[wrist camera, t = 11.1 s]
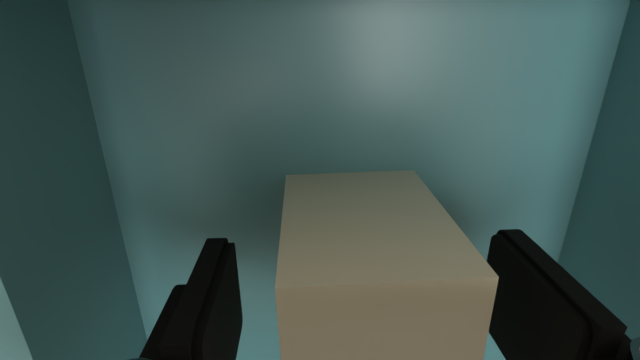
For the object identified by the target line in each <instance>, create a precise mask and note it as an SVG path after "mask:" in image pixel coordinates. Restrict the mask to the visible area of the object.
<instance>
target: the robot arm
mask: <svg viewBox="0 0 640 360" xmlns="http://www.w3.org/2000/svg"><path fill="white" fill-rule="evenodd" d="M487 263H488V264H489V265H490V267H491V268H492V269H493V270H494V272H495V273H496V274H497V275H498V277H499V279H498V285H497V290H496V295H495V300H494V305H493V311H492V316H491V321H490V326H489V333H490V335H491V337H492V338H493V340H494V341H495V343H496V345H497V346H498V348H499V350H500V351H501V353H502V354H503V356H504V358H505V359H506V360H640V337H638V338H635V339H633V340H631V339H630V338H629V337H628V336H627V335H626V334H625V332H626V330H627V326H626V325H625V324H624V323H623V322H622V321H621V320H620V319H618V318H617V317H616V316H615V315H614V314H613V313H612V312H611V311H610V310H609V309H608V308H606V307H605V306H604V305H603V304H602V303H601V302H600V301H599V300H598V299H597V298H595V297H594V296H593V295H592V294H591V293H590V292H589V291H588V290H587V289H586V288H585V287H583V286H582V285H581V284H580V283H579V282H578V281H577V280H576V279H575V278H574V277H573V276H571V275H570V274H569V273H568V272H567V271H566V270H565V269H564V268H563V267H562V266H560V265H559V264H558V263H557V262H556V261H555V260H554V259H553V258H552V257H551V256H550V255H548V254H547V253H546V252H545V251H544V250H543V249H542V248H541V247H540V246H539V245H537V244H536V243H535V242H534V241H533V240H532V239H531V238H530V237H529V236H528V235H527V234H525V233H524V232H523V231H522V230H520V229H504V230H499V231H498V232H497V233H496V235H493V236H492V237H491V241H490V246H489V251H488V256H487ZM242 323H243V315H242V305H241V296H240V286H239V277H238V268H237V258H236V249H235V243H234V242H232V243H229V242H228V239H227V238H207V239H206V241H205V244H204V246H203V248H202V250H201V252H200V255H199V257H198V259H197V261H196V264H195V266H194V268H193V270H192V273H191V275H190V277H189V279H188V282H187V284H182V285H176V286H174V288H173V289H172V291H171V293H170V295H169V297H168V299H167V301H166V303H165V305H164V307H163V309H162V311H161V314H160V316H159V318H158V320H157V322H156V324H155V326H154V328H153V330H152V332H151V334H150V336H149V338H148V340H147V342H146V344H145V346H144V348H143V350H142V352H141V354H140V356H139V358H132V359H128V360H236V356H237V351H238V346H239V341H240V336H241V331H242Z"/></svg>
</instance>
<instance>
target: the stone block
mask: <svg viewBox="0 0 640 360" xmlns="http://www.w3.org/2000/svg"><path fill="white" fill-rule="evenodd" d="M498 279H499V277H498V275H497V274H496V273H495V272H494V270H493V269H492V268H491V267H490V265H489V264H488V263H487V262H486V260H485V259H484V258H483V256H482V255H481V254H480V253H479V251H478V250H477V249H476V248H475V246H474V245H473V244H472V243H471V241H470V240H469V239H468V238H467V236H466V235H465V234H464V233H463V231H462V230H461V229H460V228H459V226H458V225H457V224H456V223H455V221H454V220H453V219H452V218H451V216H450V215H449V214H448V213H447V211H446V210H445V209H444V208H443V206H442V205H441V204H440V203H439V201H438V200H437V199H436V197H435V196H434V195H433V194H432V192H431V191H430V190H429V189H428V187H427V186H426V185H425V184H424V182H423V181H422V180H421V179H420V177H419V176H418V175H417V174H416V172H415V171H414V170H401V171H376V172H350V173H324V174H298V175H286V181H285V191H284V201H283V211H282V221H281V231H280V241H279V251H278V261H277V271H276V281H275V296H276V308H277V320H278V332H279V344H280V356H281V360H483V358H484V353H485V347H486V342H487V337H488V332H489V326H490V321H491V316H492V311H493V305H494V300H495V295H496V290H497V285H498Z"/></svg>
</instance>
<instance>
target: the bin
mask: <svg viewBox="0 0 640 360" xmlns="http://www.w3.org/2000/svg"><path fill="white" fill-rule="evenodd" d="M401 170H414V171H415V172H416V174H417V175H418V176H419V177H420V179H421V180H422V181H423V182H424V184H425V185H426V186H427V187H428V189H429V190H430V191H431V192H432V194H433V195H434V196H435V197H436V199H437V200H438V201H439V203H440V204H441V205H442V206H443V208H444V209H445V210H446V211H447V213H448V214H449V215H450V216H451V218H452V219H453V220H454V221H455V223H456V224H457V225H458V226H459V228H460V229H461V230H462V231H463V233H464V234H465V235H466V236H467V238H468V239H469V240H470V241H471V243H472V244H473V245H474V246H475V248H476V249H477V250H478V251H479V253H480V254H481V255H482V256H483V258H484V259H485V260H486V262H487V256H488V251H489V246H490V241H491V237H492V236H493V235H496V233H497V232H498V231H499V230H504V229H520V230H522V231H523V232H524V233H525V234H527V235H528V236H529V237H530V238H531V239H532V240H533V241H534V242H535V243H536V244H537V245H539V246H540V247H541V248H542V249H543V250H544V251H545V252H546V253H547V254H548V255H550V256H551V257H552V258H553V259H554V260H555V261H556V262H557V263H558V264H559V265H560V266H562V267H563V268H564V269H565V270H566V271H567V272H568V273H569V274H570V275H571V276H573V277H574V278H575V279H576V280H577V281H578V282H579V283H580V284H581V285H582V286H583V287H585V288H586V289H587V290H588V291H589V292H590V293H591V294H592V295H593V296H594V297H595V298H597V299H598V300H599V301H600V302H601V303H602V304H603V305H604V306H605V307H606V308H608V309H609V310H610V311H611V312H612V313H613V314H614V315H615V316H616V317H617V318H618V319H620V320H621V321H622V322H623V323H624V324H625V325H626V326H627V330H626V332H625V334H626V335H627V336H628V337H629V338H630V339H631V340H633V339H635V338H638V337H640V0H0V360H128V359H132V358H139V356H140V354H141V352H142V350H143V348H144V346H145V344H146V342H147V340H148V338H149V336H150V334H151V332H152V330H153V328H154V326H155V324H156V322H157V320H158V318H159V316H160V314H161V311H162V309H163V307H164V305H165V303H166V301H167V299H168V297H169V295H170V293H171V291H172V289H173V288H174V286H176V285H182V284H187V282H188V279H189V277H190V275H191V273H192V270H193V268H194V266H195V264H196V261H197V259H198V257H199V255H200V252H201V250H202V248H203V246H204V244H205V241H206V239H207V238H227V239H228V242H229V243H232V242H234V243H235V249H236V258H237V268H238V277H239V286H240V296H241V305H242V315H243V323H242V331H241V336H240V341H239V346H238V351H237V356H236V360H281V356H280V344H279V332H278V320H277V308H276V296H275V281H276V271H277V261H278V251H279V241H280V231H281V221H282V211H283V201H284V191H285V181H286V175H298V174H324V173H350V172H376V171H401ZM483 360H506V359H505V358H504V356H503V354H502V353H501V351H500V350H499V348H498V346H497V345H496V343H495V341H494V340H493V338H492V337H491V335H490V333H489V332H488V337H487V342H486V347H485V353H484V358H483Z"/></svg>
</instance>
